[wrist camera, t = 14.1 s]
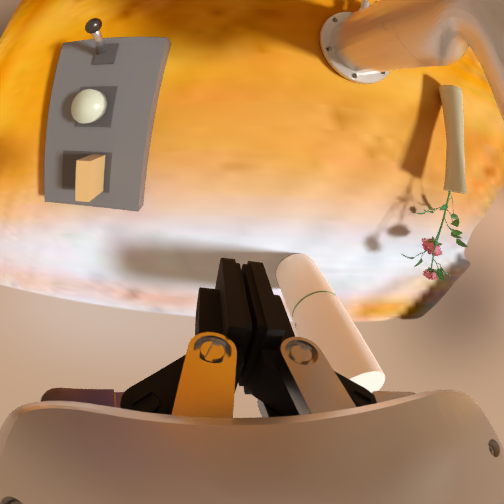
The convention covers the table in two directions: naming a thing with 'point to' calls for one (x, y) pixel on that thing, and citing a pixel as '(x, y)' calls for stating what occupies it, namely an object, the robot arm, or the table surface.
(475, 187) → the table surface
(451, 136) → the flower vase
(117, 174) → the control panel
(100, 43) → the toggle lever
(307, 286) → the cylindrical container
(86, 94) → the push button
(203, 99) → the table surface
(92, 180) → the paddle switch
